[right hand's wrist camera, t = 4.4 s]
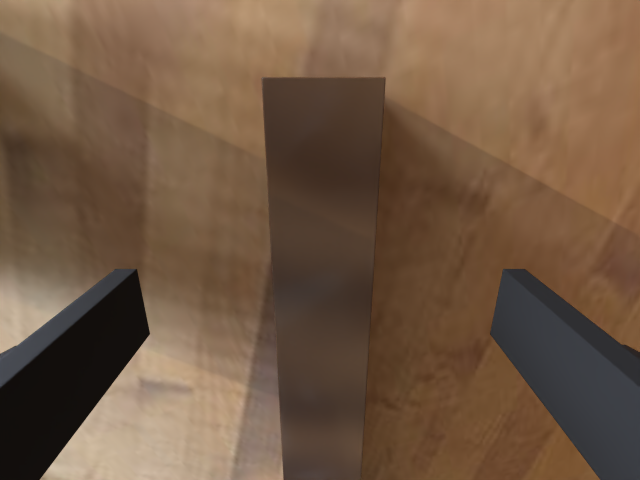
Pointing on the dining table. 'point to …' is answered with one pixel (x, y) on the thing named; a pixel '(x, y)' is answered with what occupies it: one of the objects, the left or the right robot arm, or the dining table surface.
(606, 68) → the dining table surface
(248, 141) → the dining table surface
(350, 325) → the bar
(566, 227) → the dining table surface
